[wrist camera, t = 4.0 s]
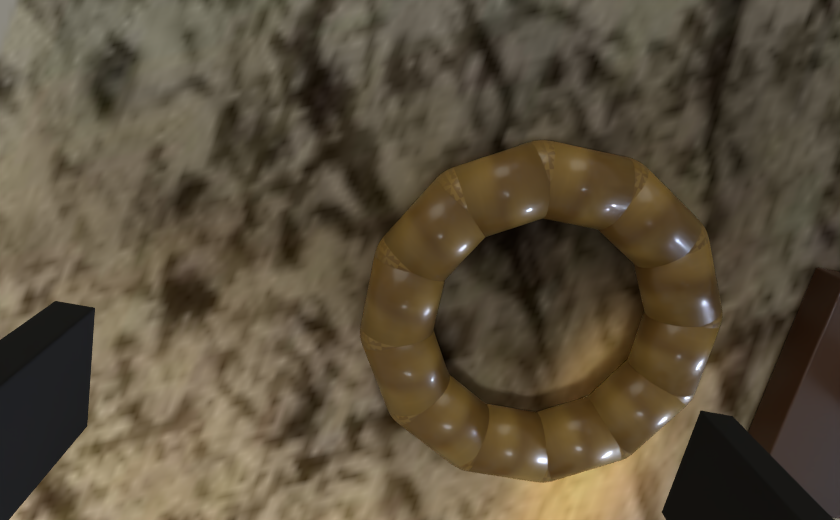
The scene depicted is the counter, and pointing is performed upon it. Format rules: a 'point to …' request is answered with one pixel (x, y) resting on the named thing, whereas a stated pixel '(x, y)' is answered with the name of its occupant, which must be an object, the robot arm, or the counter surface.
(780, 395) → the post
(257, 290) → the counter surface
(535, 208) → the ring
